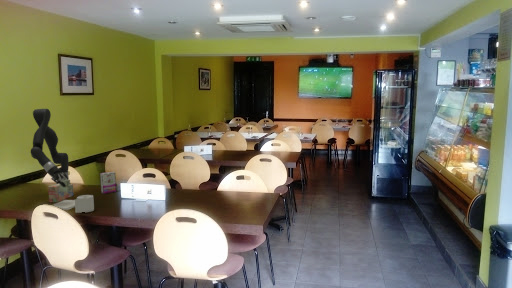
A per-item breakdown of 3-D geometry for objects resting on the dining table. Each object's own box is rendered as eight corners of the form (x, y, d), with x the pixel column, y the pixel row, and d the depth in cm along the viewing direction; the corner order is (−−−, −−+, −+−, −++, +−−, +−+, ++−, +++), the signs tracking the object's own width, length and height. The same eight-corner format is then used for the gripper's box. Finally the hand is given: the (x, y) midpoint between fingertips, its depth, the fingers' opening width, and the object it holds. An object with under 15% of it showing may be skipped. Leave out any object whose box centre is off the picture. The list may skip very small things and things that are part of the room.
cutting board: (65, 201, 319) (65, 199, 319) (84, 202, 316) (84, 200, 316) (47, 209, 299) (47, 206, 299) (67, 210, 296) (67, 207, 296)
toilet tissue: (96, 208, 300) (95, 194, 298) (90, 213, 288) (89, 199, 287) (81, 208, 299) (80, 194, 298) (74, 213, 287) (73, 199, 286)
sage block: (64, 190, 309) (63, 179, 308) (70, 190, 308) (69, 179, 307) (60, 191, 304) (59, 181, 303) (66, 192, 303) (65, 181, 302)
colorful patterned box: (66, 195, 339) (65, 180, 337) (73, 195, 338) (72, 180, 336) (49, 202, 318) (47, 186, 316) (56, 202, 317) (55, 186, 315)
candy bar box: (114, 190, 353) (113, 171, 351) (116, 191, 349) (115, 172, 347) (101, 192, 346) (99, 173, 344) (103, 193, 342) (101, 174, 340)
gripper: (48, 167, 298) (64, 184, 297) (60, 163, 312) (76, 180, 311) (41, 174, 300) (58, 191, 299) (54, 170, 314) (70, 187, 313)
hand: (67, 185), depth 305 cm, fingers closed on sage block, 5 cm apart
